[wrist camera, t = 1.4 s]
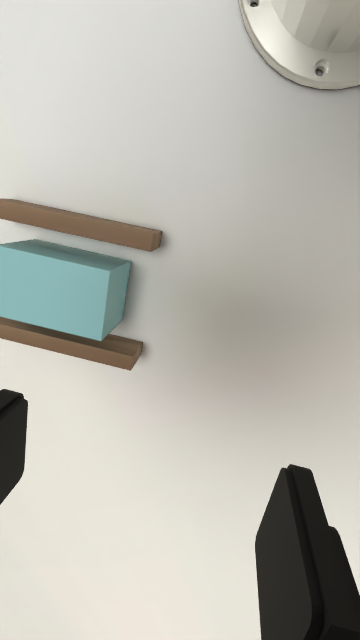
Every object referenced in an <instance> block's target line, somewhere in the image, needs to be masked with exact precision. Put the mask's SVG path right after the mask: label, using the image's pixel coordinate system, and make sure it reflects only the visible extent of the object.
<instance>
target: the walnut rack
mask: <svg viewBox="0 0 360 640" xmlns="http://www.w3.org/2000/svg"><path fill="white" fill-rule="evenodd" d="M0 219H5V220H9V221H14V222H18V223H23V224H27V225H32V226H37V227H41V228H46V229H50V230H55V231H59V232H64V233H68V234H73V235H77V236H82V237H87V238H91V239H96V240H100V241H105V242H109V243H114V244H118V245H123V246H127V247H132V248H137V249H141V250H146V251H150V252H151V251H153V250H155V249H157V248H159V246H160V240H161V235H162V231H158V230H154V229H149V228H144V227H140V226H135V225H130V224H126V223H121V222H116V221H112V220H107V219H102V218H98V217H93V216H89V215H84V214H79V213H75V212H70V211H65V210H61V209H56V208H51V207H47V206H42V205H37V204H33V203H28V202H23V201H19V200H14V199H0ZM0 338H2V339H6V340H10V341H14V342H18V343H22V344H26V345H30V346H34V347H38V348H42V349H46V350H50V351H54V352H58V353H62V354H66V355H70V356H74V357H78V358H82V359H86V360H90V361H94V362H98V363H102V364H106V365H110V366H114V367H118V368H122V369H126V370H130V371H131V369H132V368H133V366H134V365H135V363H136V362H137V360H138V358H139V357H140V355H141V350H142V345H143V342H140V341H136V340H131V339H127V338H123V337H119V336H115V335H111V334H108V335H107V336H106V337H105V338H104V339H103V340H102V341H98V340H94V339H90V338H86V337H82V336H78V335H74V334H70V333H66V332H62V331H58V330H54V329H49V328H45V327H41V326H37V325H33V324H29V323H25V322H21V321H17V320H13V319H9V318H5V317H0Z"/></svg>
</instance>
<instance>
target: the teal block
mask: <svg viewBox="0 0 360 640" xmlns="http://www.w3.org/2000/svg"><path fill="white" fill-rule="evenodd" d="M130 265H131V261H130V260H125V259H121V258H116V257H112V256H107V255H103V254H98V253H94V252H89V251H85V250H81V249H76V248H72V247H67V246H63V245H58V244H54V243H49V242H45V241H40V240H36V239H34V240H27V241H20V242H13V243H6V244H0V317H5V318H9V319H13V320H17V321H21V322H25V323H29V324H33V325H37V326H41V327H45V328H49V329H54V330H58V331H62V332H66V333H70V334H74V335H78V336H82V337H86V338H90V339H94V340H98V341H102V340H103V339H104V338H105V337H106V336H107V335H108V334H109V333H110V332H111V331H112V330H113V329H114V328H115V327H116V326H117V325H118V324H119V323H120V322H121V321H122V319H123V312H124V305H125V299H126V292H127V285H128V279H129V272H130Z"/></svg>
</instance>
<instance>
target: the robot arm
mask: <svg viewBox="0 0 360 640" xmlns="http://www.w3.org/2000/svg"><path fill="white" fill-rule="evenodd" d="M252 2H256V3H257V4H258V6H257V7H251V6H250V4H251V3H252ZM239 5H240V10H241V13H242V17H243V20H244V24H245V27H246V30H247V32H248V34H249V36H250V38H251V40H252V42H253V44H254V46H255V48H256V49H257V50H258V52H259V53H260V54H261V55H262V57H263V58H264V59H265V60H266V62H267V63H268V64H269V65H270V66H271V67H273V68H274V69H275V70H276V71H278V72H279V73H280V74H281V75H282V76H284V77H286V78H288V79H290V80H292V81H294V82H296V83H298V84H300V85H304V86H309V87H313V88H317V89H343V88H348V87H353V86H358V85H360V0H239ZM317 69H321V70H322V72H323V75H322V76H318V75H316V73H315V70H317ZM27 411H28V401H27V400H25V399H24V396H23V394H21V393H18V392H14V391H10V390H7V389H2V390H1V391H0V504H1V503H2V502H3V501H4V499H5V498H6V497H7V496H8V494H9V493H10V492H11V491H12V489H13V488H14V487H15V485H16V484H17V483H18V482H19V480H20V479H21V477H22V474H23V471H24V464H25V446H26V429H27ZM255 553H256V568H257V582H258V597H259V611H260V626H261V640H360V595H359V592H358V589H357V586H356V583H355V580H354V577H353V574H352V571H351V568H350V565H349V562H348V559H347V556H346V553H345V550H344V547H343V544H342V541H341V538H340V535H339V533H338V531H337V530H336V529H335V528H334V527H331V526H329V525H328V522H327V519H326V516H325V512H324V509H323V506H322V503H321V499H320V496H319V493H318V490H317V486H316V483H315V480H314V477H313V473H312V471H311V470H310V469H307V468H304V467H300V466H296V465H292V464H290V465H289V466H288V468H282V469H281V470H280V473H279V475H278V478H277V481H276V483H275V486H274V489H273V492H272V494H271V497H270V500H269V502H268V505H267V508H266V510H265V513H264V516H263V519H262V521H261V524H260V527H259V529H258V532H257V535H256V541H255Z"/></svg>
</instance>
